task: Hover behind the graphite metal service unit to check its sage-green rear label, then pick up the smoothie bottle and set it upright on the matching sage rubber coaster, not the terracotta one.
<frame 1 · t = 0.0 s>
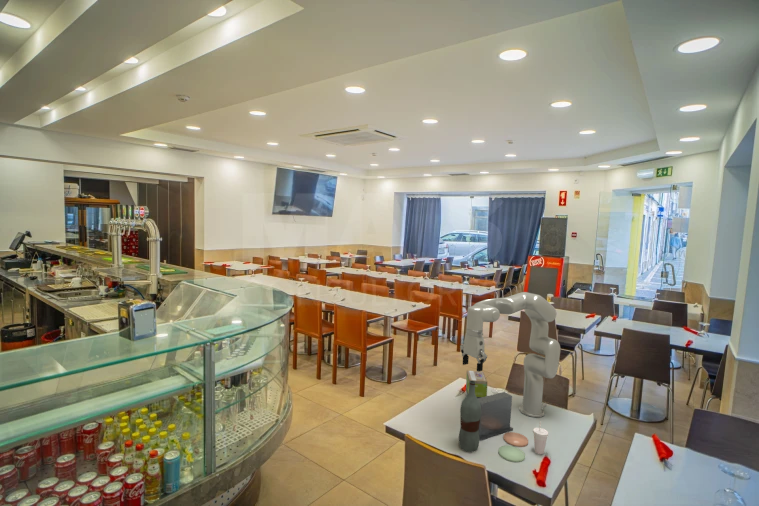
hand: (472, 367, 191), 31 cm above the table, tool pointing down, fingers open, 9 cm apart
tea box: (475, 400, 227), on the table
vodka: (468, 447, 179), on the table
terracotta coaster: (515, 440, 186), on the table
sage coaster: (511, 454, 174), on the table
smoothie: (539, 452, 177), on the table
service unit: (491, 432, 192), on the table
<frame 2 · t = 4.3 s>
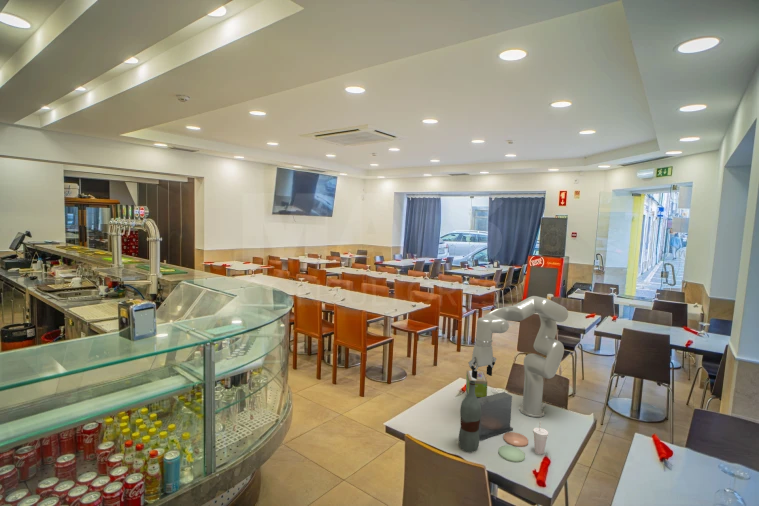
hand: (481, 376, 199), 24 cm above the table, tool pointing down, fingers open, 9 cm apart
nothing on the table moved.
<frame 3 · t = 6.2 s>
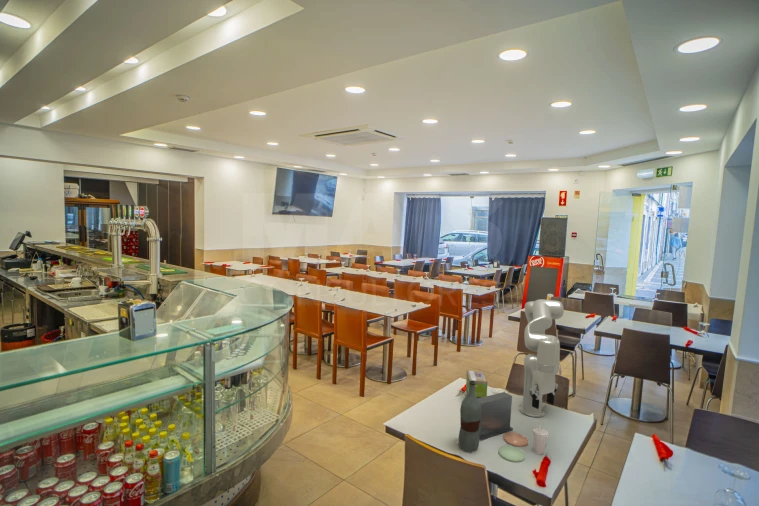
hand: (542, 405, 175), 21 cm above the table, tool pointing down, fingers open, 9 cm apart
nothing on the table moved.
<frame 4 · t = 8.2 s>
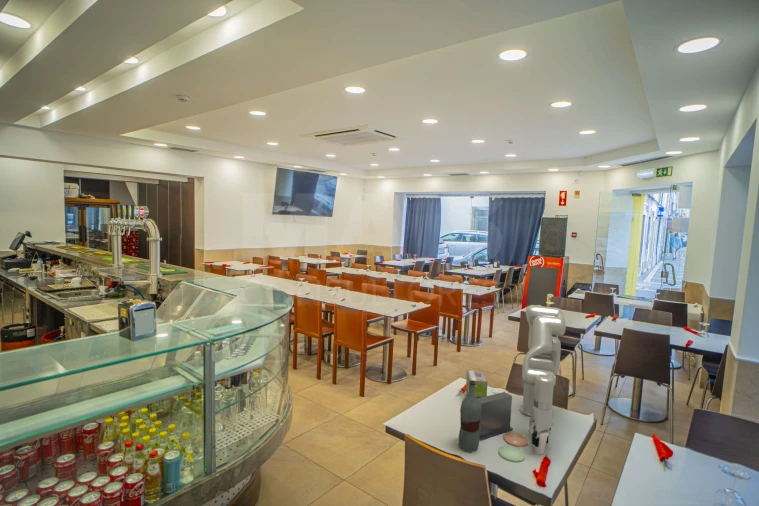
hand: (539, 443, 176), 4 cm above the table, tool pointing down, fingers closed on smoothie, 5 cm apart
smoothie: (539, 452, 177), on the table, touching gripper
everything else where it was.
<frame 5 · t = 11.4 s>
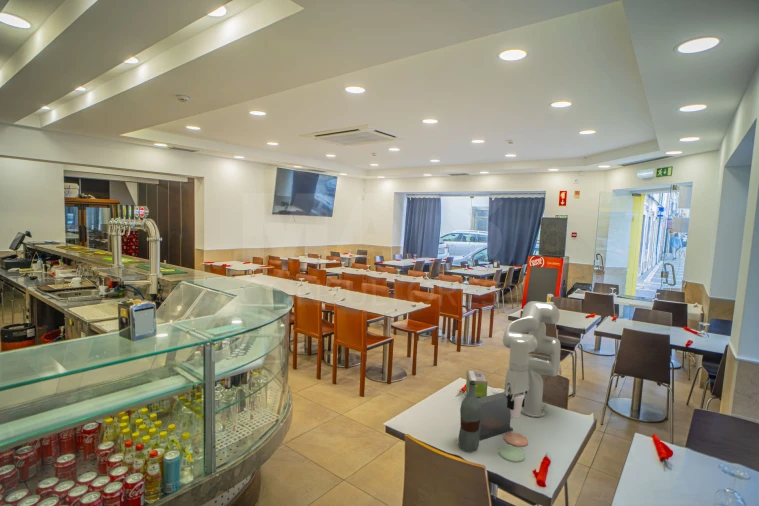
hand: (515, 406, 172), 22 cm above the table, tool pointing down, fingers closed on smoothie, 5 cm apart
smoothie: (514, 416, 173), point 17 cm above the table, touching gripper
everything else where it was.
when the fingers open (6 cm above the table, at t = 14.8 s): smoothie stays where it is, resting on sage coaster.
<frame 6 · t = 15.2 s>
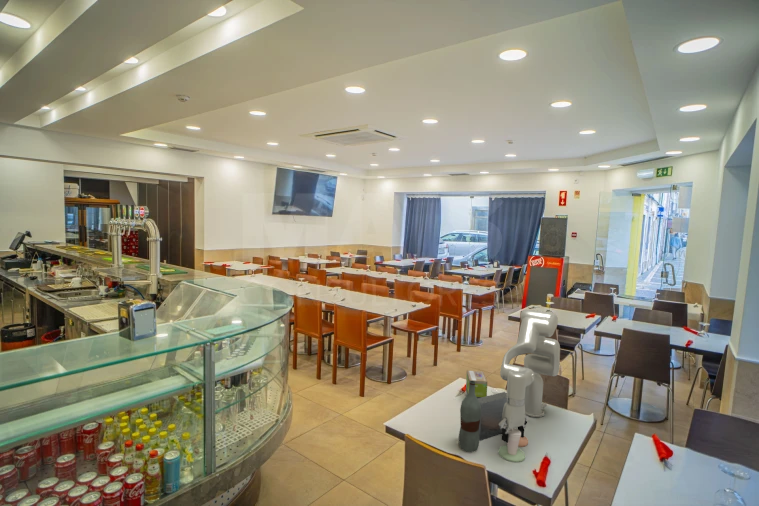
hand: (512, 438, 173), 7 cm above the table, tool pointing down, fingers open, 9 cm apart
smoothie: (512, 453, 174), point 1 cm above the table, touching sage coaster
everything else where it was.
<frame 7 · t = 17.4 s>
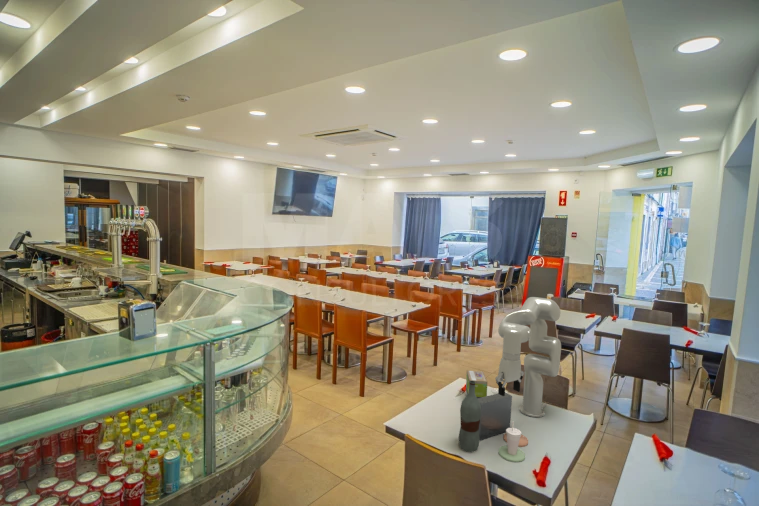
hand: (509, 392, 178), 25 cm above the table, tool pointing down, fingers open, 9 cm apart
nothing on the table moved.
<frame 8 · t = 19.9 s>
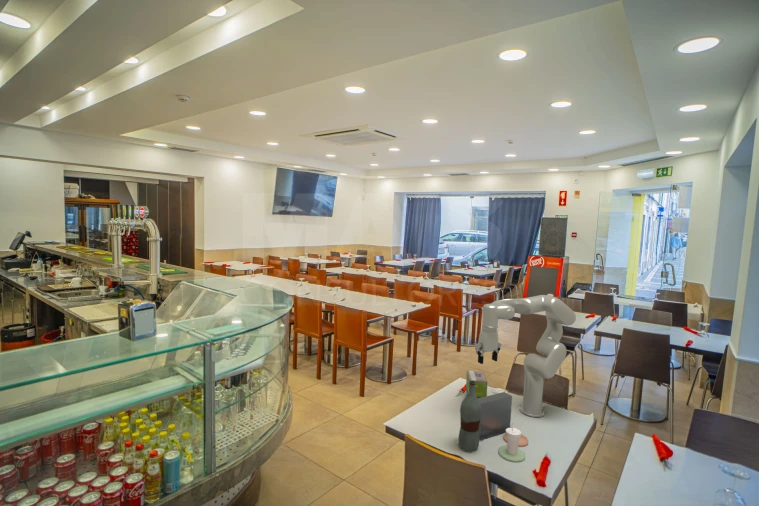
hand: (487, 361, 203), 30 cm above the table, tool pointing down, fingers open, 9 cm apart
nothing on the table moved.
at the end: smoothie 0.2 cm from the sage coaster (horizontally); smoothie tilted 0°; smoothie touching sage coaster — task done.
